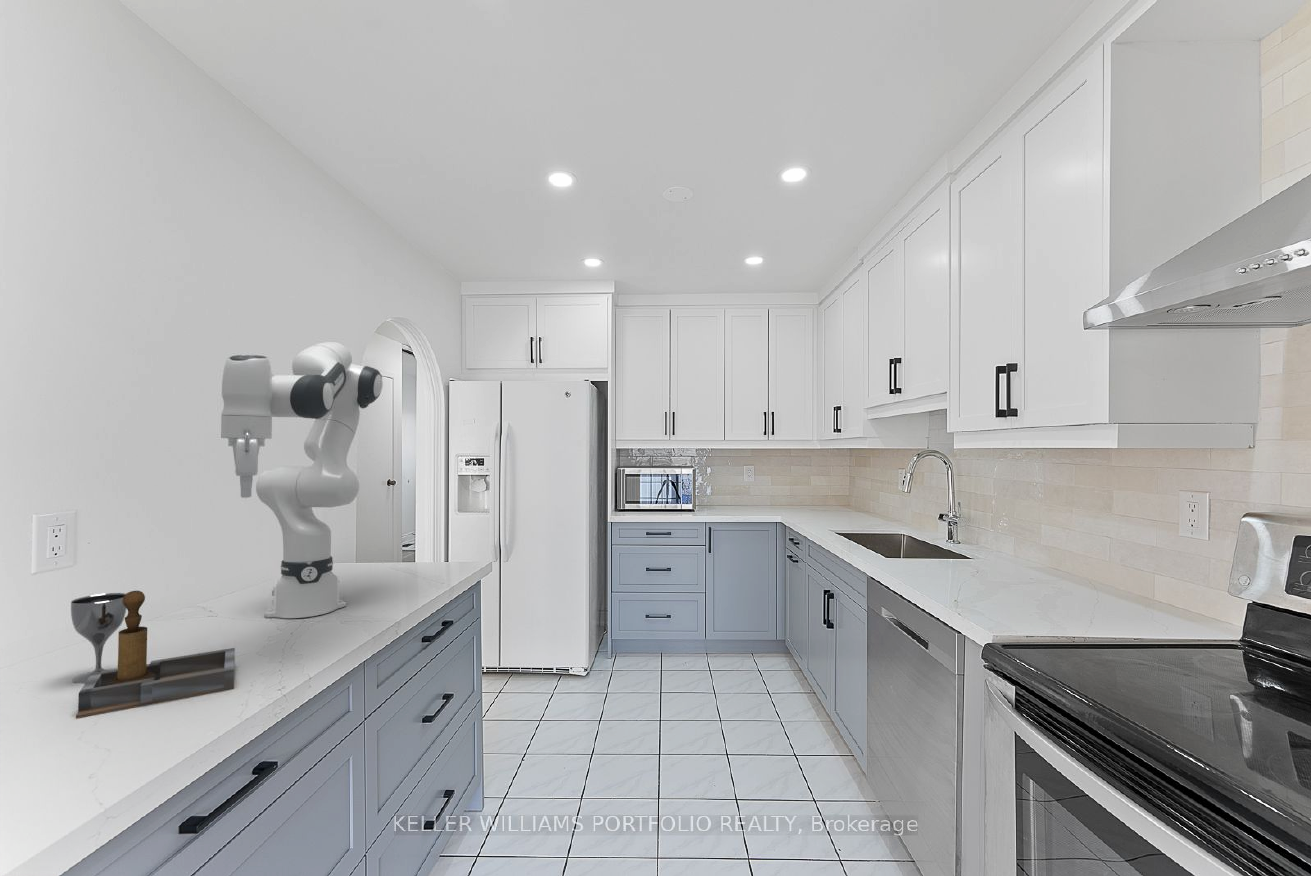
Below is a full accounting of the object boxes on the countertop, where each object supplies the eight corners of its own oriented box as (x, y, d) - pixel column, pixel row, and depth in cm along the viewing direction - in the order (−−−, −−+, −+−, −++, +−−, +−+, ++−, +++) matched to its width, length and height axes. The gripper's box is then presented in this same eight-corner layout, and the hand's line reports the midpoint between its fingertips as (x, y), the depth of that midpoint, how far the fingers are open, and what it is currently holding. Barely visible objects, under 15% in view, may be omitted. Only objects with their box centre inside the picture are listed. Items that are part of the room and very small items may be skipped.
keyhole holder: (93, 689, 107) (93, 670, 107) (234, 664, 119) (234, 647, 119) (75, 718, 96) (76, 697, 96) (233, 688, 108) (234, 669, 108)
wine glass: (59, 686, 108) (61, 605, 108) (82, 671, 116) (84, 595, 116) (114, 680, 111) (116, 601, 111) (133, 665, 119) (134, 591, 119)
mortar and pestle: (126, 701, 101) (128, 597, 101) (96, 698, 102) (98, 594, 102) (165, 686, 107) (167, 587, 108) (136, 683, 109) (138, 586, 109)
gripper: (266, 429, 117) (265, 498, 117) (263, 431, 134) (262, 491, 134) (227, 429, 114) (226, 500, 114) (229, 431, 130) (228, 493, 130)
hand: (245, 495), depth 124 cm, fingers open, 8 cm apart
